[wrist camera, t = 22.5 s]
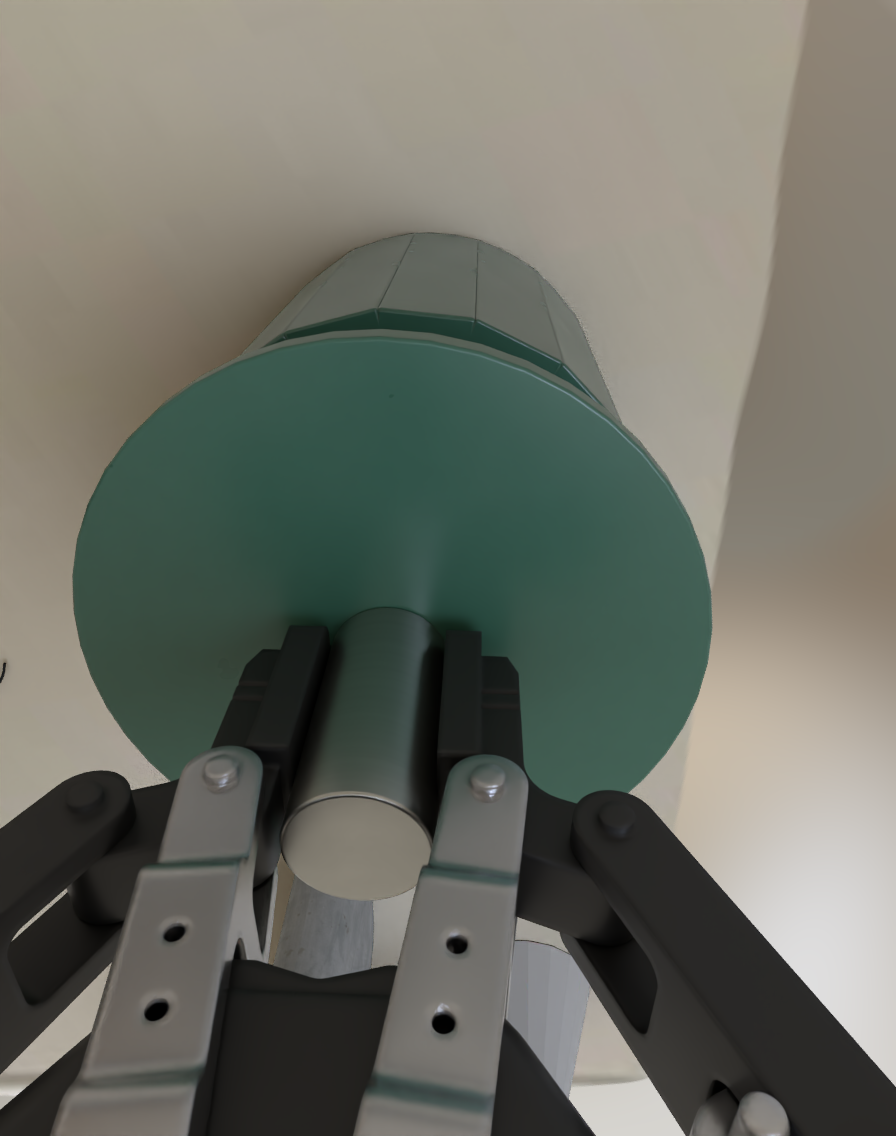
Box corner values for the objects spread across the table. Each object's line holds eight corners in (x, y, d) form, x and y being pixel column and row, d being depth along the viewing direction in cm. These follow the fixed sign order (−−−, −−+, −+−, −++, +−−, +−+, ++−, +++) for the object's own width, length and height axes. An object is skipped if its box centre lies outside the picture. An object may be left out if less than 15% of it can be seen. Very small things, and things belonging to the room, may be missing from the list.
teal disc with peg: (82, 765, 20) (-63, 1006, 15) (115, 227, 14) (-120, 310, 8) (574, 875, 22) (604, 1132, 16) (814, 431, 15) (995, 614, 10)
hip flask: (300, 827, 42) (172, 1345, 24) (379, 832, 42) (306, 1354, 24) (309, 1008, 50) (218, 1494, 32) (375, 1012, 50) (319, 1501, 32)
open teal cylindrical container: (247, 505, 32) (144, 686, 22) (302, 183, 26) (193, 235, 16) (533, 580, 34) (553, 782, 24) (646, 288, 28) (738, 395, 18)
